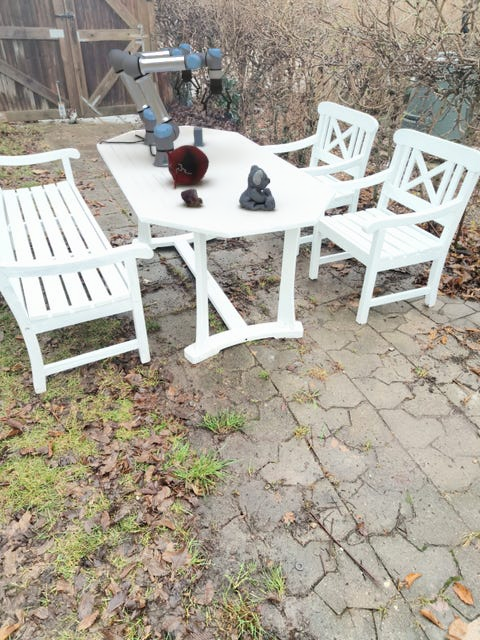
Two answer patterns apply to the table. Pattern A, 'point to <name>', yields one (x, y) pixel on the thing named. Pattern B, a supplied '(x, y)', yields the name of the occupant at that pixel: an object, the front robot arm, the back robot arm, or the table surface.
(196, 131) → the block
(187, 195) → the rock
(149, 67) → the front robot arm
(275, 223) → the table surface
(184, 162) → the dark red rounded piece
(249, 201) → the koala plush
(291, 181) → the table surface
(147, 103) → the back robot arm
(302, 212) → the table surface
